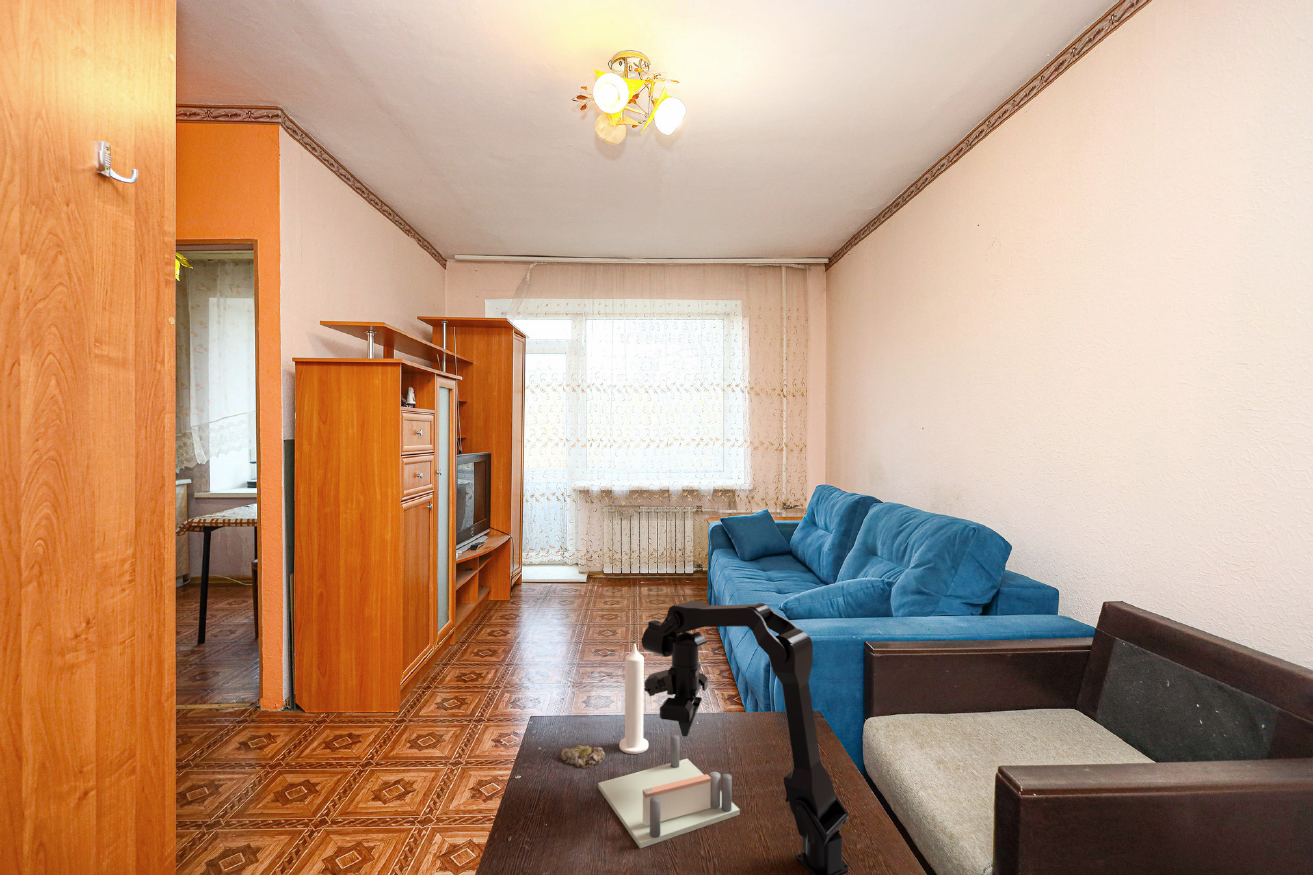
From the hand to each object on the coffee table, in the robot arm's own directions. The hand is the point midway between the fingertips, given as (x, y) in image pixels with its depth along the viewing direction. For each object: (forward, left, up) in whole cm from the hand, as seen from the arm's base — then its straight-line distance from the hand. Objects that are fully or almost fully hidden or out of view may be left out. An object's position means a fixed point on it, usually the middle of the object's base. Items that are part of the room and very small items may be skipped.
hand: (685, 735), depth 126 cm
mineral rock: (+22, +15, -12) cm, 29 cm away
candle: (+21, +2, -12) cm, 25 cm away
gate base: (-1, +5, -12) cm, 13 cm away
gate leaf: (-8, +5, -10) cm, 14 cm away
